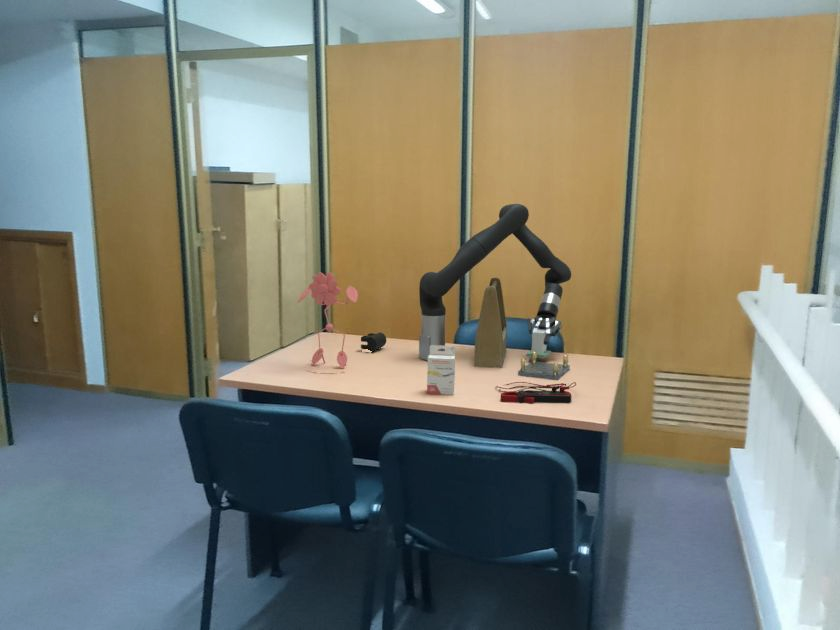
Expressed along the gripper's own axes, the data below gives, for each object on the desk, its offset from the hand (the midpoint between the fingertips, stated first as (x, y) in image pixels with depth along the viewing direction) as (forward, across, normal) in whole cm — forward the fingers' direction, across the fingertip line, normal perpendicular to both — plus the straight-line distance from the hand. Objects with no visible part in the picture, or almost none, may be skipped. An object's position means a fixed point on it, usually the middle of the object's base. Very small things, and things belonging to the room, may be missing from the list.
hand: (539, 342), depth 254 cm
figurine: (+39, -65, -28) cm, 81 cm away
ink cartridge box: (+45, -15, -34) cm, 59 cm away
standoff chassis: (+16, +7, -6) cm, 19 cm away
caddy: (+8, -18, +2) cm, 20 cm away
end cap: (+14, -65, -3) cm, 67 cm away
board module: (+3, 0, +4) cm, 5 cm away
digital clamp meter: (+36, +12, -25) cm, 45 cm away
